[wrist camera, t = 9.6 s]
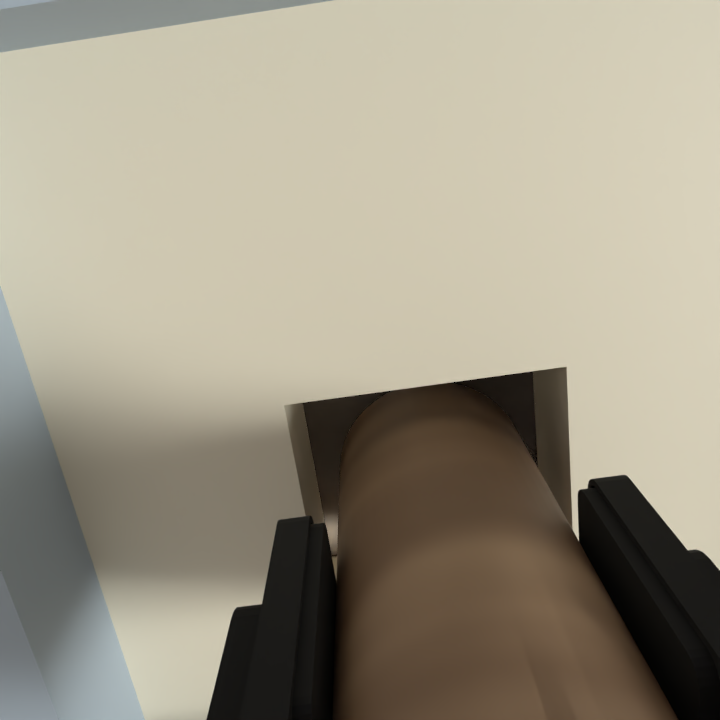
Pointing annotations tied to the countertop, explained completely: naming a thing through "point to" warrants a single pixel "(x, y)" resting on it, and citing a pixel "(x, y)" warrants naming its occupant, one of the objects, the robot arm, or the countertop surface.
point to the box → (324, 288)
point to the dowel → (468, 578)
